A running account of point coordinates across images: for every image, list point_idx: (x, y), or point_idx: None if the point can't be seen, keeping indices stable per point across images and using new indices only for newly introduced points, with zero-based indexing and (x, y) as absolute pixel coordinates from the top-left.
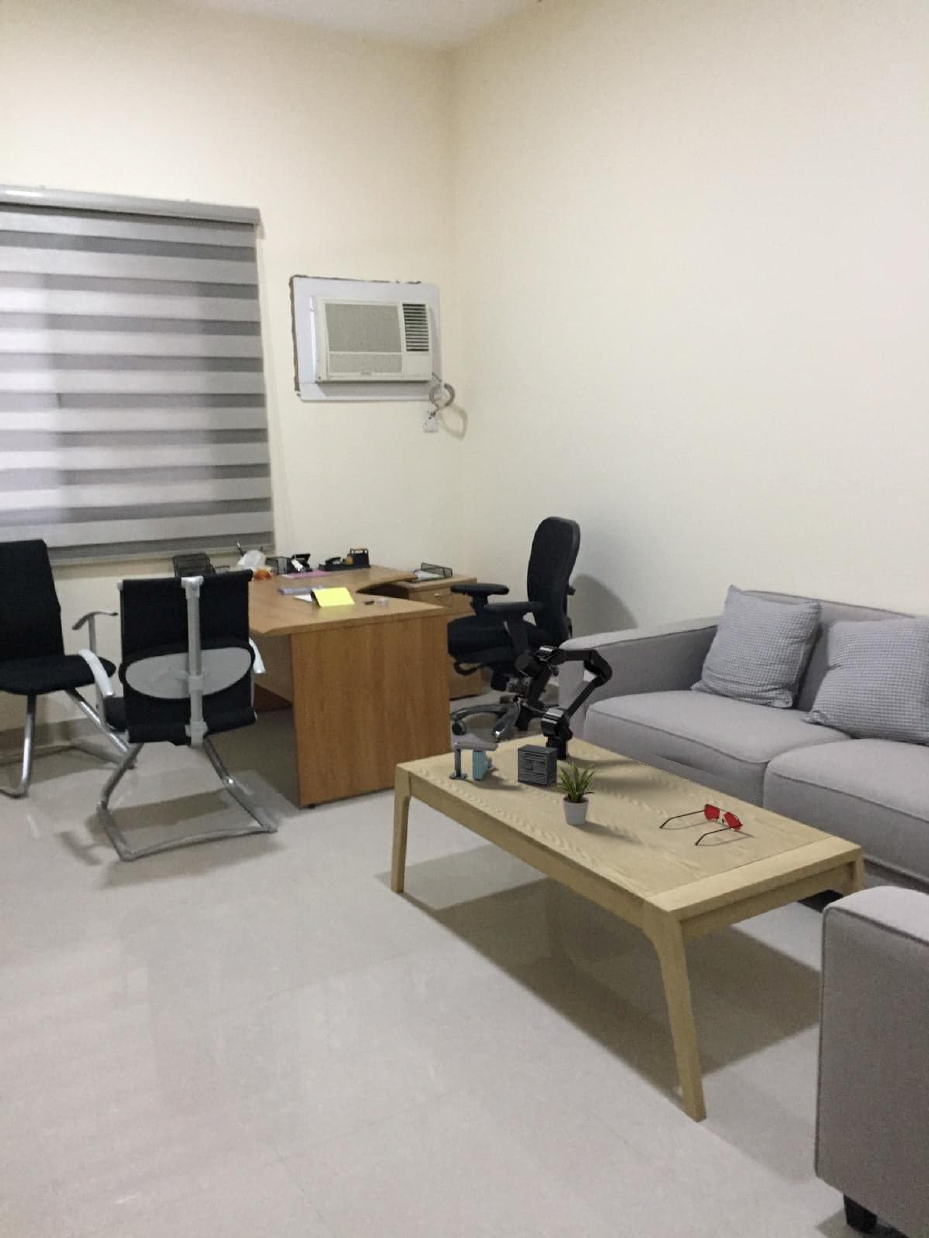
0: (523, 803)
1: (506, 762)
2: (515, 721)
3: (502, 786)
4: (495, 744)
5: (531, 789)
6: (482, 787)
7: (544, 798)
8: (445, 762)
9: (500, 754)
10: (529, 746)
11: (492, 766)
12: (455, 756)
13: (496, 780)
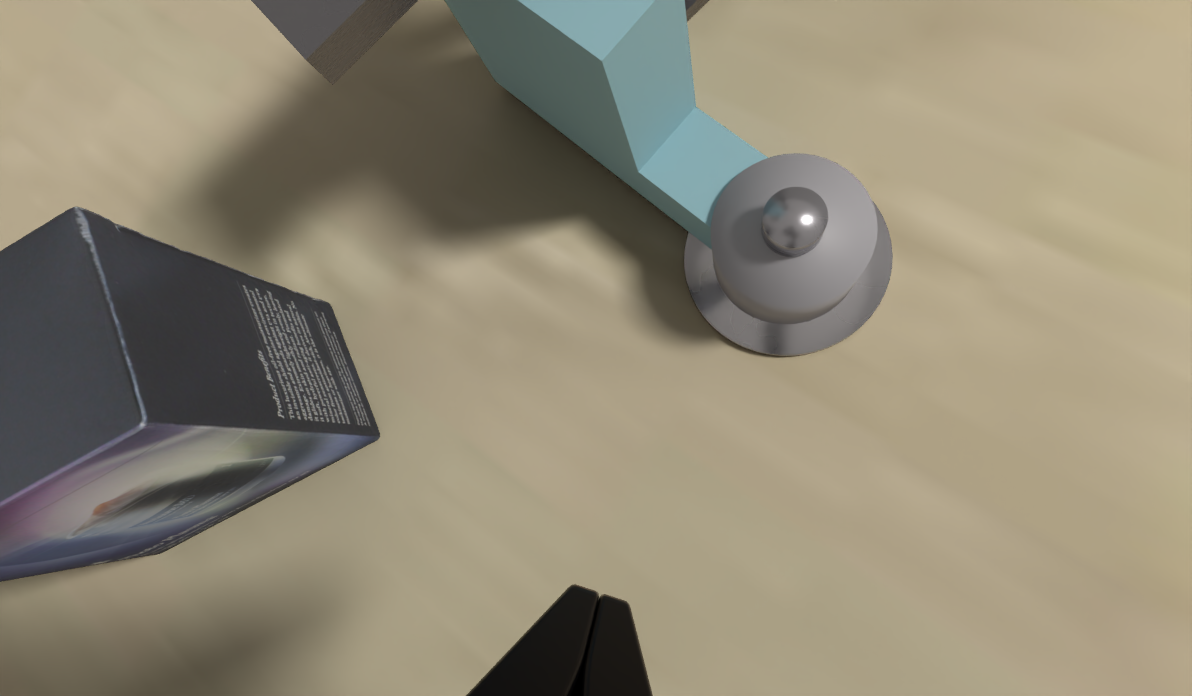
0: (26, 121)
1: (815, 522)
2: (532, 644)
3: (313, 157)
4: (304, 16)
5: None
6: None
7: None
8: (1128, 16)
9: (1133, 649)
10: (29, 367)
11: (751, 324)
12: None
13: (438, 182)
